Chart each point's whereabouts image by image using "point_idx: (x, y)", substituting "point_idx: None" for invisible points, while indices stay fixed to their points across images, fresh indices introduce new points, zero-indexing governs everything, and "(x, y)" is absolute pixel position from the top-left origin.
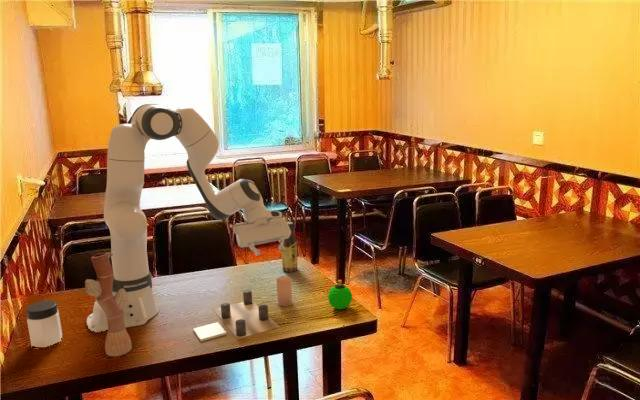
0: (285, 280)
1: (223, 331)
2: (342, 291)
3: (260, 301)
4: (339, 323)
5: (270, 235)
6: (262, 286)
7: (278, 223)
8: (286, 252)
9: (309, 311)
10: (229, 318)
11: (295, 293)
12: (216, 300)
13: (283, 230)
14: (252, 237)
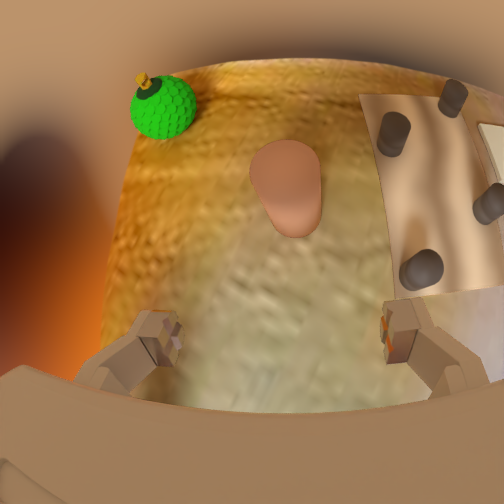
0: (283, 150)
1: (485, 129)
2: (160, 76)
3: (369, 271)
4: (224, 70)
5: (176, 435)
6: (308, 404)
7: (3, 501)
8: None
9: (252, 133)
10: (475, 196)
11: (227, 273)
12: (486, 353)
13: (22, 412)
14: (480, 439)
